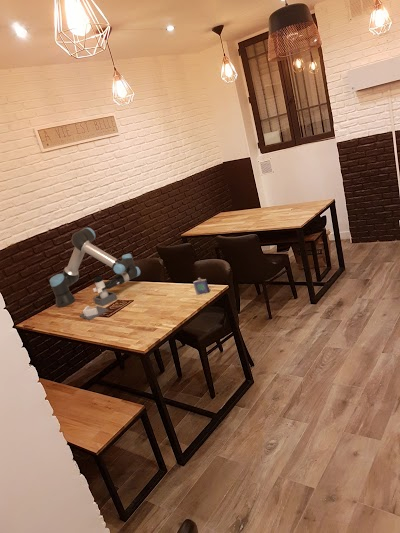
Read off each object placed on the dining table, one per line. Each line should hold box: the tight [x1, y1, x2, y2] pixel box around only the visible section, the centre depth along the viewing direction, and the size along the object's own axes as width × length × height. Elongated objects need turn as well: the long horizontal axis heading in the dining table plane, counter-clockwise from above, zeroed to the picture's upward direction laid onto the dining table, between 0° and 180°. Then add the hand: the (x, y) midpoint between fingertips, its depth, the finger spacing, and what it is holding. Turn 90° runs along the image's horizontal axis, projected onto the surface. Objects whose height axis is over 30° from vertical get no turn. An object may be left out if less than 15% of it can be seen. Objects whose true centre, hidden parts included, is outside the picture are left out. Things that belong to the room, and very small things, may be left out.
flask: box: [192, 277, 210, 295], centre depth 264 cm, size 9×3×11 cm, turn 76°
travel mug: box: [93, 275, 109, 299], centre depth 300 cm, size 6×7×20 cm
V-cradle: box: [79, 305, 109, 322], centre depth 283 cm, size 16×15×5 cm
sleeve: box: [93, 290, 118, 307], centre depth 302 cm, size 12×12×5 cm
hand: (95, 290), depth 297 cm, fingers closed on travel mug, 6 cm apart
